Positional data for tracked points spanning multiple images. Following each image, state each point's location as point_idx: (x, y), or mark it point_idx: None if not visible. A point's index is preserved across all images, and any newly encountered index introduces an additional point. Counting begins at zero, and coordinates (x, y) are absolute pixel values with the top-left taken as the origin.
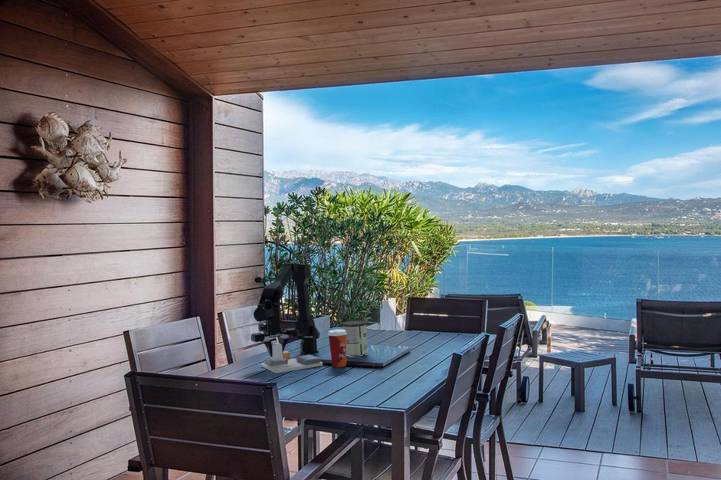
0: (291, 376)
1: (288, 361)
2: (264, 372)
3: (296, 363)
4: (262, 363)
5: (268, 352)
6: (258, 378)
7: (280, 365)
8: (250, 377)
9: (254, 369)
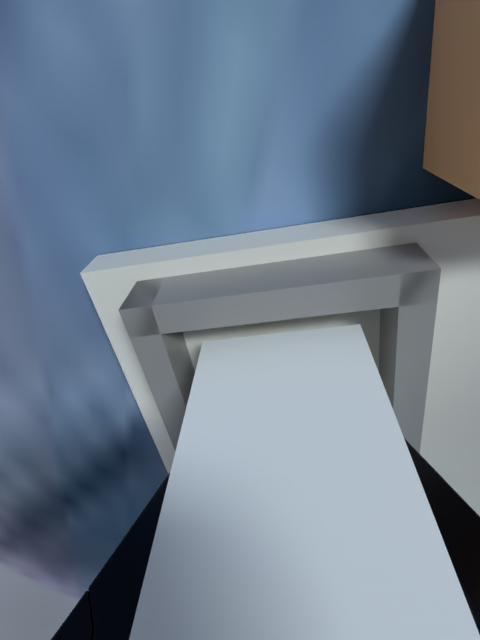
0: None
1: (468, 353)
2: (130, 487)
3: (474, 482)
4: (95, 273)
5: (144, 510)
6: (90, 575)
7: None
8: (32, 543)
9: (21, 350)
